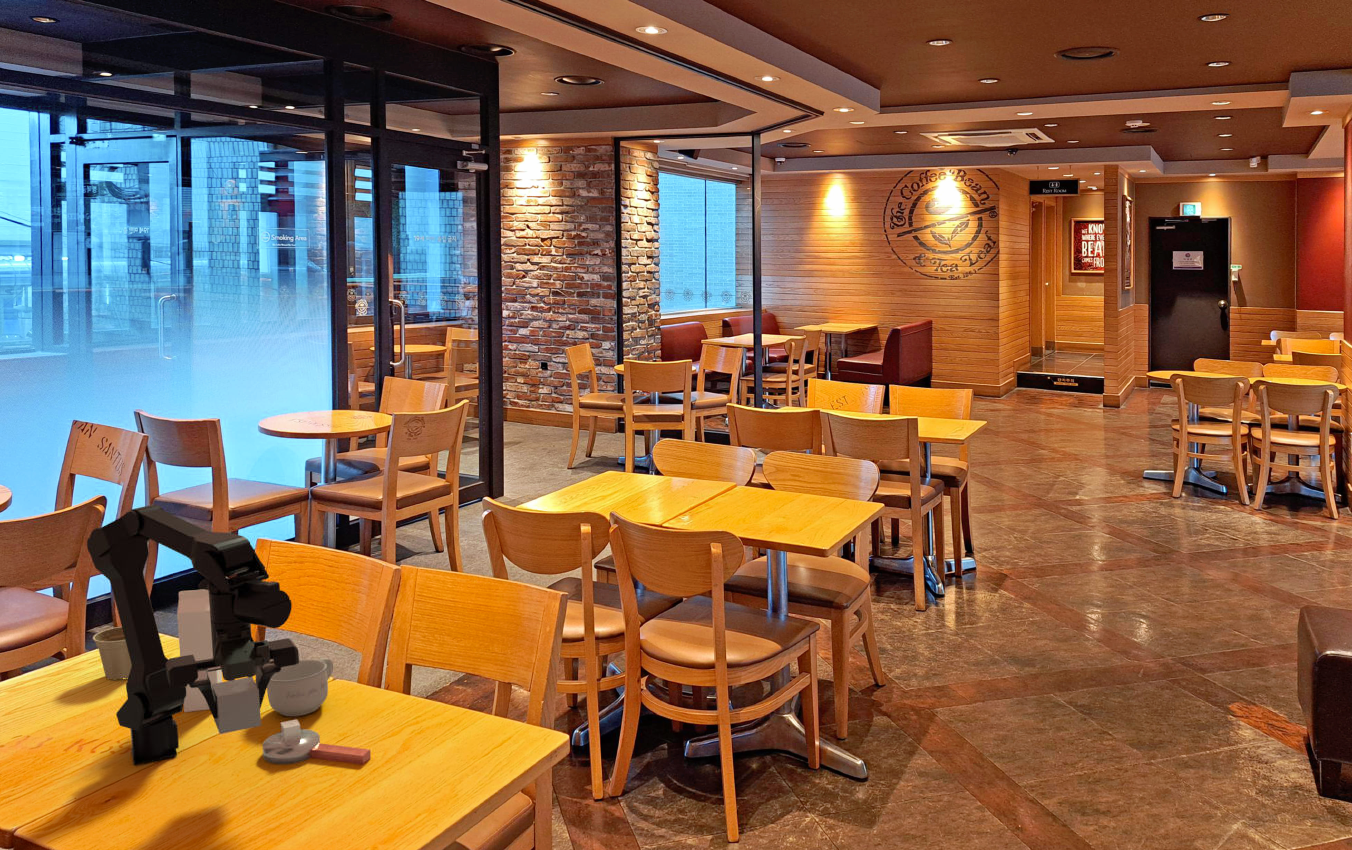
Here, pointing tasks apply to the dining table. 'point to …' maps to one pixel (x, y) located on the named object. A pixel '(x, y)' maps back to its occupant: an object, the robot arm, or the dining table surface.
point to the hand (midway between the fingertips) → (236, 713)
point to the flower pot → (113, 653)
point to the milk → (196, 640)
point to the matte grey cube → (236, 705)
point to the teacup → (300, 687)
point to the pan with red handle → (307, 747)
